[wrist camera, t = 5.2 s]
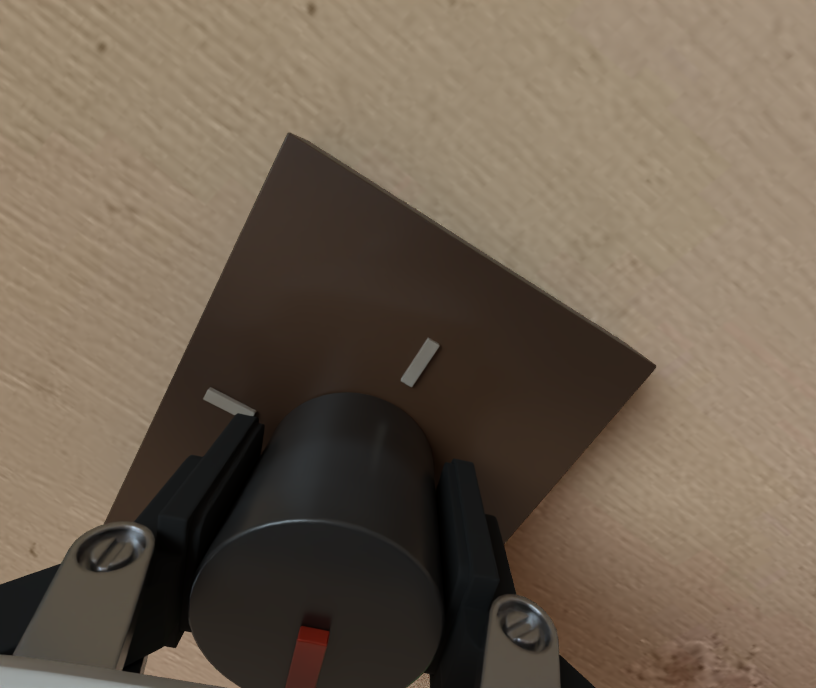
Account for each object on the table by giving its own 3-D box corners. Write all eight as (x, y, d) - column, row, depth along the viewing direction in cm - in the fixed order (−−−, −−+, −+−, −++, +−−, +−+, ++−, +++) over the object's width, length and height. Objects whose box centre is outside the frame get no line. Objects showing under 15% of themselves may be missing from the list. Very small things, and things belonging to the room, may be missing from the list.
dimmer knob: (282, 372, 12) (190, 505, 7) (453, 413, 12) (481, 567, 7) (257, 513, 14) (166, 704, 9) (409, 546, 14) (408, 747, 9)
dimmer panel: (307, 140, 12) (285, 130, 10) (624, 342, 14) (661, 369, 12) (129, 505, 16) (88, 551, 14) (393, 624, 18) (391, 680, 16)
